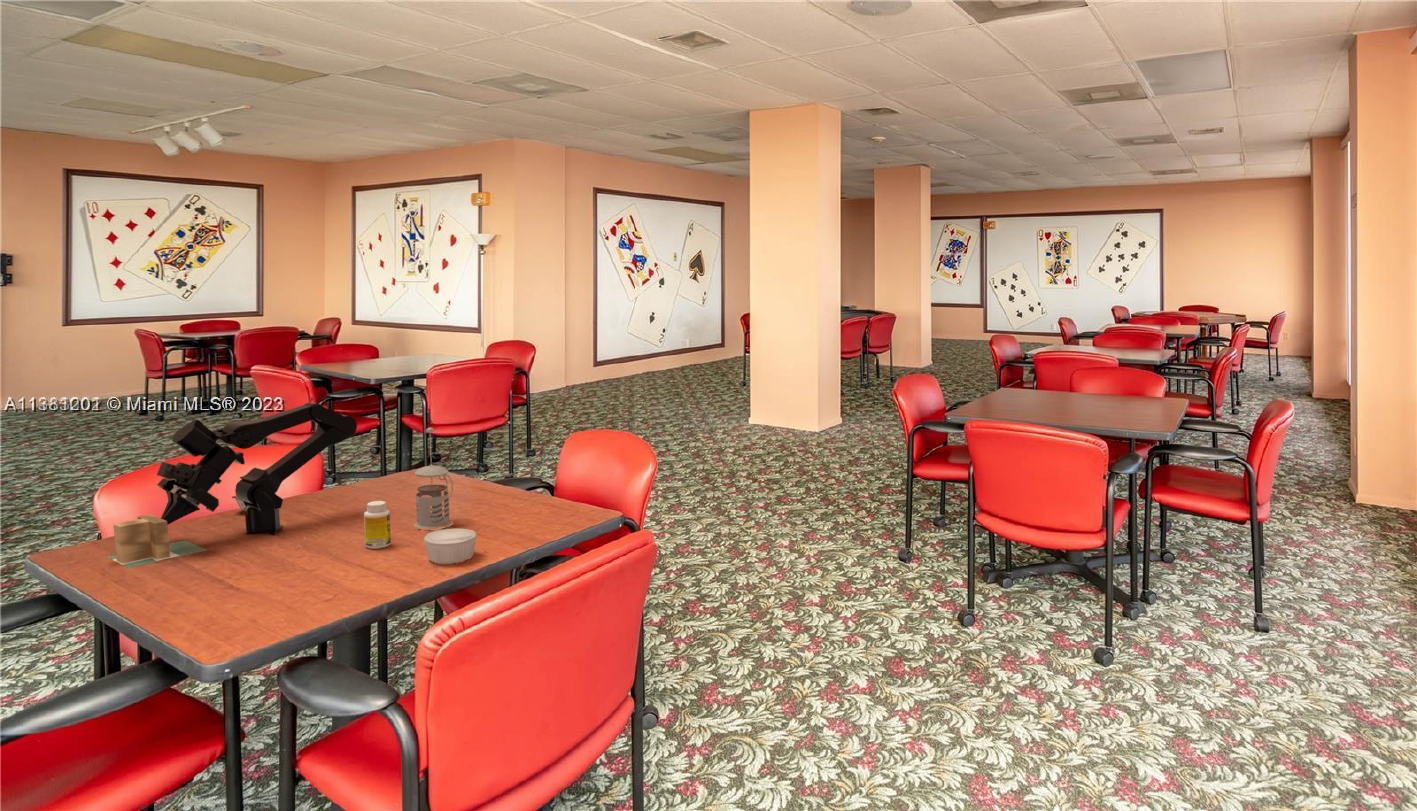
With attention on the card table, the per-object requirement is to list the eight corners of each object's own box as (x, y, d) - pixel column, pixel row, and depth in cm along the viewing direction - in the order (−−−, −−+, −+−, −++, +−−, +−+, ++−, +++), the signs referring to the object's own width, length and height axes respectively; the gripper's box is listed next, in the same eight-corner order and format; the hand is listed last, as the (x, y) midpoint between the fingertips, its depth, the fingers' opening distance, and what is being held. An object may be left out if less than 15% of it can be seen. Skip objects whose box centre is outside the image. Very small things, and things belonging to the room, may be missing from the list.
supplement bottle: (392, 547, 192) (390, 504, 191) (366, 550, 190) (364, 507, 189) (390, 541, 197) (388, 498, 196) (364, 544, 195) (362, 501, 193)
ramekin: (448, 569, 178) (447, 545, 177) (413, 560, 184) (412, 537, 183) (488, 556, 187) (487, 533, 187) (453, 547, 193) (452, 525, 192)
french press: (404, 528, 208) (400, 429, 205) (435, 516, 219) (432, 422, 215) (436, 532, 205) (432, 431, 201) (466, 520, 215) (463, 424, 212)
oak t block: (153, 548, 189) (150, 514, 188) (169, 556, 183) (167, 521, 182) (111, 557, 182) (108, 521, 181) (128, 565, 177) (124, 529, 176)
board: (184, 542, 195) (184, 540, 195) (207, 552, 188) (207, 549, 188) (106, 558, 183) (106, 556, 183) (128, 570, 176) (128, 567, 176)
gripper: (163, 443, 193) (112, 499, 186) (199, 452, 182) (146, 512, 175) (203, 470, 200) (155, 525, 193) (239, 481, 189) (190, 540, 182)
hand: (160, 525), depth 185 cm, fingers closed
